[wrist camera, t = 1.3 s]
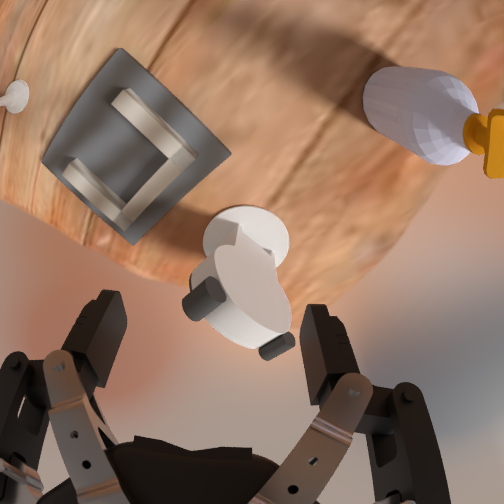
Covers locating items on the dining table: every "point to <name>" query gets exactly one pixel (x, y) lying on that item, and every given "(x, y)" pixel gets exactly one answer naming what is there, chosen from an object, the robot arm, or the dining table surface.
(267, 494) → the robot arm
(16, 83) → the chess piece
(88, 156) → the u rest
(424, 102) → the soap bottle
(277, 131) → the dining table surface
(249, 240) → the panda figurine
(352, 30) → the dining table surface
